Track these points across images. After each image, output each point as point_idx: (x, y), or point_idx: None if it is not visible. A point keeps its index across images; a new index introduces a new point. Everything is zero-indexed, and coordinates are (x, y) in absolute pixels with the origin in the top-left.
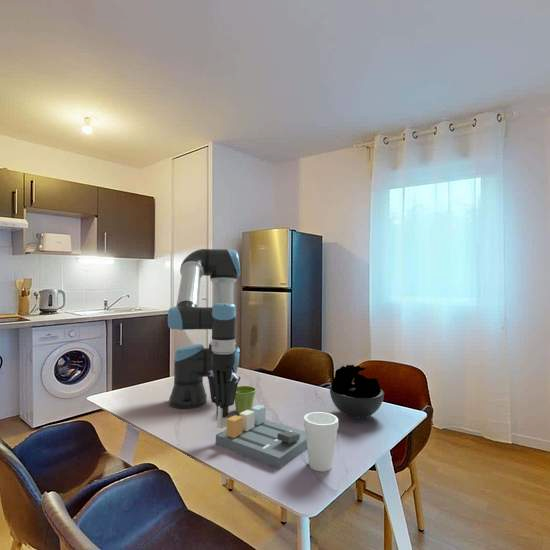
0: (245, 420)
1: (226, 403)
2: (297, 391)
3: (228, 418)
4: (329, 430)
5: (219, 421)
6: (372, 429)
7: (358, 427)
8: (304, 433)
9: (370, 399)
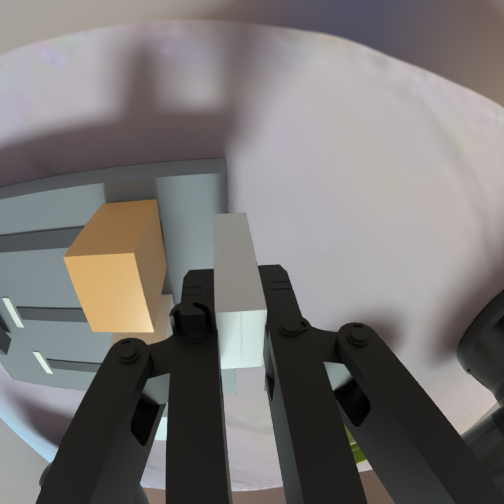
0: (121, 335)
1: (136, 366)
2: (279, 475)
3: (133, 268)
4: None
5: (229, 236)
6: (39, 431)
7: (55, 432)
8: (23, 374)
9: (39, 482)
